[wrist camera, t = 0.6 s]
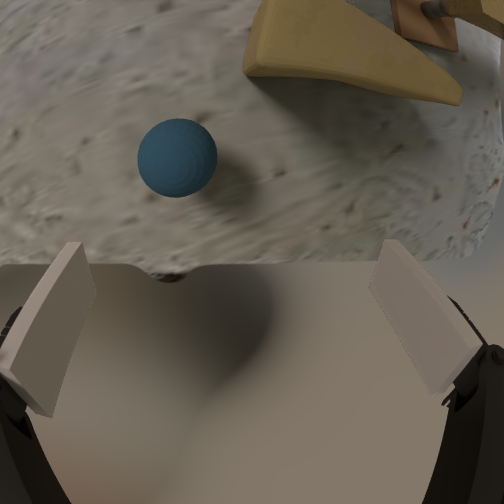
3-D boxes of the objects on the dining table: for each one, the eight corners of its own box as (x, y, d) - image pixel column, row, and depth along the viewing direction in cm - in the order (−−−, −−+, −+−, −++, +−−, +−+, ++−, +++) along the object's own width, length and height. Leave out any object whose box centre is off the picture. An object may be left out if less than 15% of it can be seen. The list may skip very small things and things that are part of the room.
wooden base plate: (384, -29, 21) (405, -39, 16) (442, -9, 22) (465, -14, 17) (396, 37, 28) (420, 34, 23) (452, 51, 28) (477, 53, 23)
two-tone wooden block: (435, 16, 21) (483, 12, 13) (429, -14, 18) (474, -24, 10) (498, 43, 21) (539, 48, 13) (494, 16, 18) (534, 18, 11)
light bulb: (223, 117, 33) (224, 129, 23) (211, 178, 38) (209, 215, 28) (158, 109, 32) (131, 119, 22) (150, 170, 36) (125, 205, 26)
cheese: (404, 62, 30) (477, 66, 18) (390, 120, 35) (459, 144, 22) (255, 9, 26) (278, -34, 13) (239, 75, 31) (252, 65, 18)
